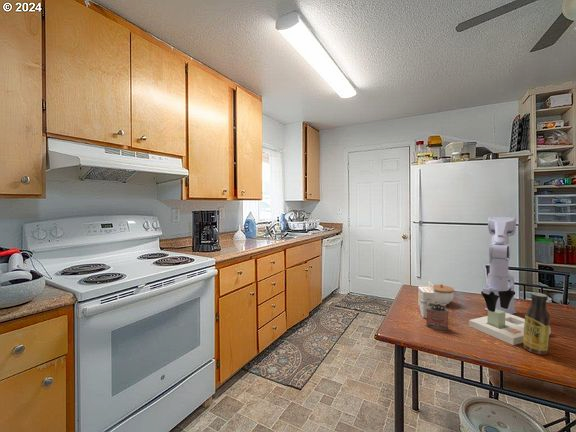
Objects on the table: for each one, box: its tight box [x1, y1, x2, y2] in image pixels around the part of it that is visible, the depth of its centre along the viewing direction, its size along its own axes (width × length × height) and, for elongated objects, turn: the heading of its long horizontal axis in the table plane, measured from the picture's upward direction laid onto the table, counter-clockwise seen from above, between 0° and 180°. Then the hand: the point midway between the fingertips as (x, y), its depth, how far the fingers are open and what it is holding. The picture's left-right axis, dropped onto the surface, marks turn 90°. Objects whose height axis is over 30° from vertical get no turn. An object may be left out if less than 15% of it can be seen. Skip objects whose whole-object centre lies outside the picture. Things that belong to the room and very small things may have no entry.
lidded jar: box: [431, 284, 455, 306], centre depth 135 cm, size 11×11×9 cm
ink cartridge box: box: [417, 280, 436, 319], centre depth 121 cm, size 9×5×15 cm, turn 168°
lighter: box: [425, 303, 450, 331], centre depth 108 cm, size 8×3×10 cm, turn 71°
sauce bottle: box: [522, 291, 551, 356], centre depth 90 cm, size 7×6×20 cm
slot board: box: [468, 312, 552, 346], centre depth 106 cm, size 22×16×3 cm
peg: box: [487, 309, 505, 329], centre depth 105 cm, size 4×4×8 cm
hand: (497, 309), depth 105 cm, fingers open, 7 cm apart
